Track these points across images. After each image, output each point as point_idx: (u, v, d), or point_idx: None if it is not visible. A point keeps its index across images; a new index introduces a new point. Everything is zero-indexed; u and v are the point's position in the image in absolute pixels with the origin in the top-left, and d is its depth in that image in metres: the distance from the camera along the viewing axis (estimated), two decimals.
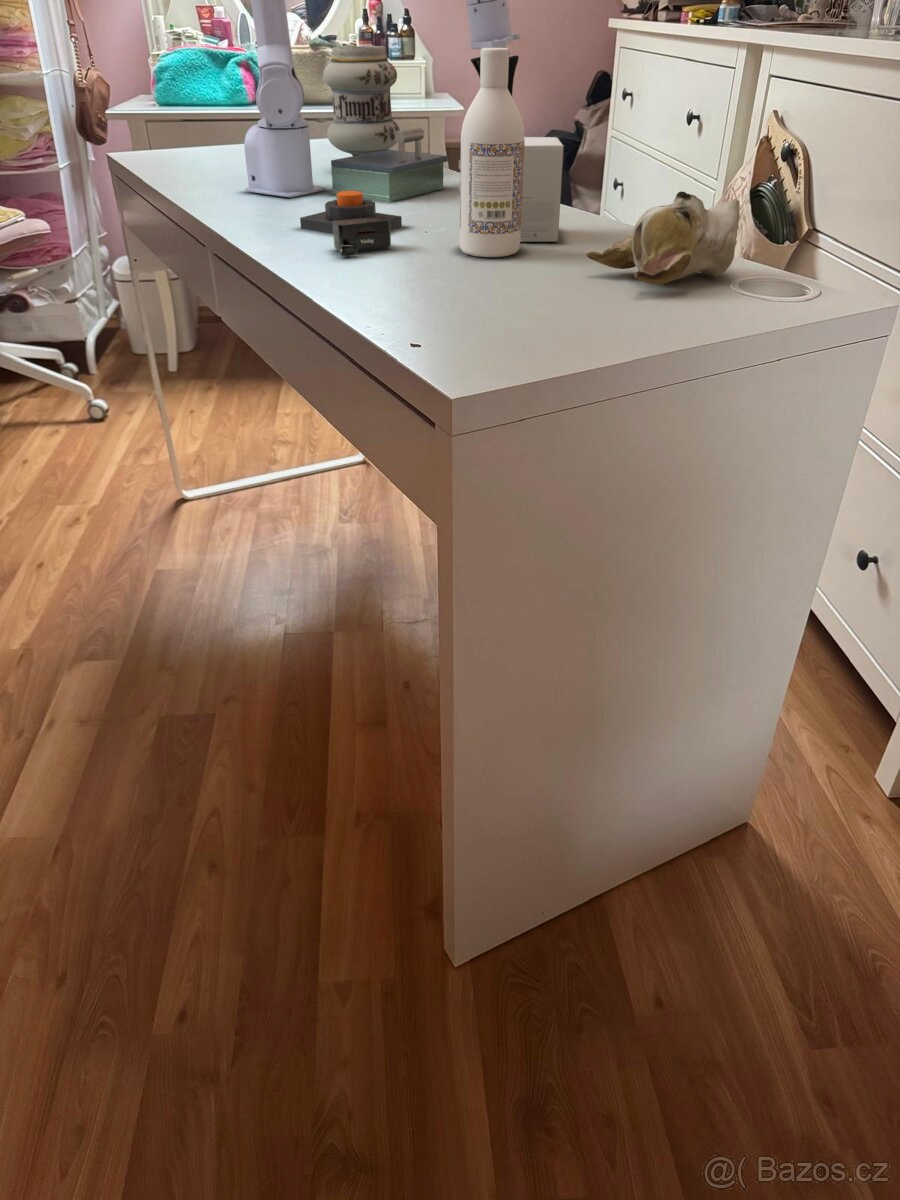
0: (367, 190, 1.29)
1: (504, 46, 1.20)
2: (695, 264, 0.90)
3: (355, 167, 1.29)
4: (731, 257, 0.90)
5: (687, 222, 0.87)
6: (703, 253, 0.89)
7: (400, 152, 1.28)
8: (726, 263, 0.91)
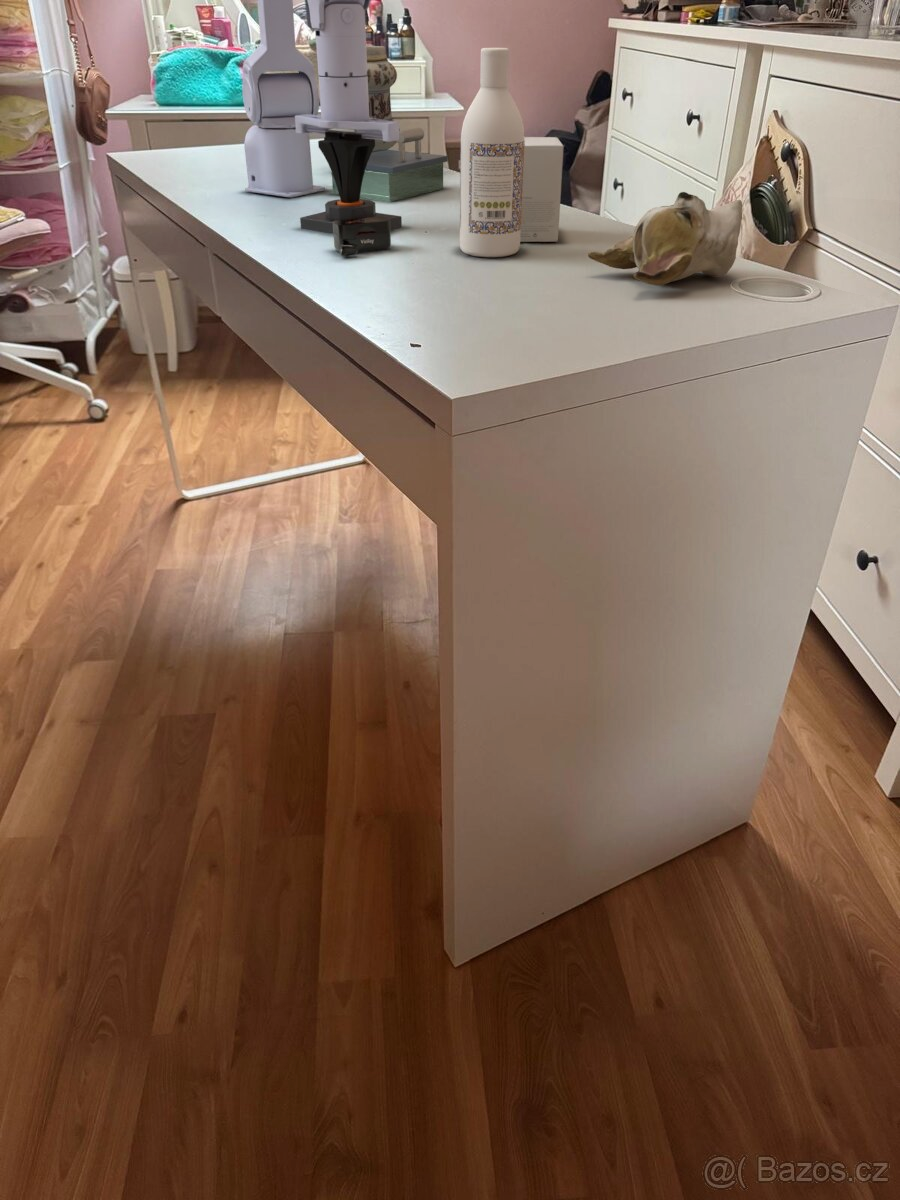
0: (367, 190, 1.29)
1: None
2: (696, 265, 0.90)
3: None
4: (733, 258, 0.90)
5: (688, 222, 0.87)
6: (704, 254, 0.89)
7: (400, 152, 1.28)
8: (728, 264, 0.91)
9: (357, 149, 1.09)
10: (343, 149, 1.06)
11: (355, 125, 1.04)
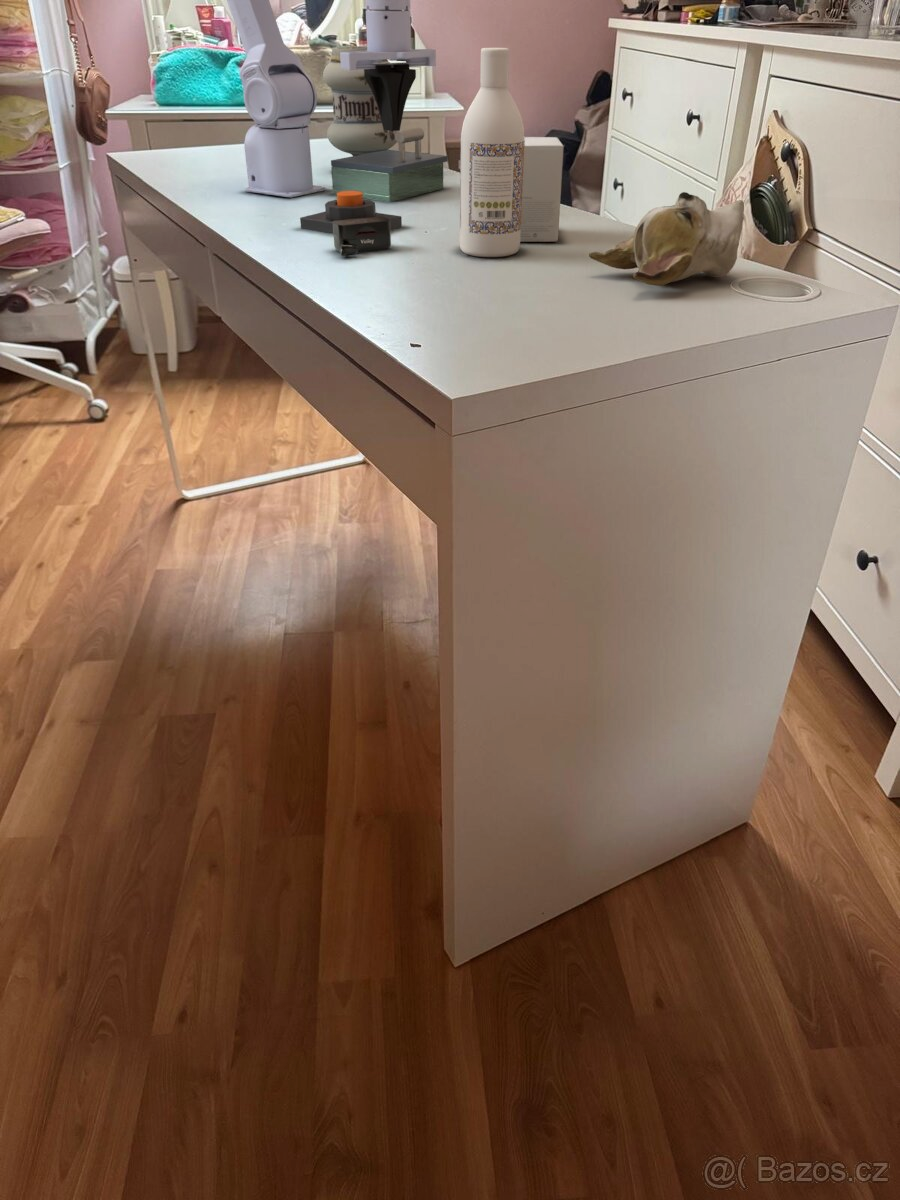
0: (367, 190, 1.29)
1: (348, 60, 1.13)
2: (697, 266, 0.89)
3: (355, 167, 1.29)
4: (734, 258, 0.90)
5: (688, 222, 0.87)
6: (705, 254, 0.89)
7: (400, 152, 1.28)
8: (729, 264, 0.90)
9: None
10: (411, 77, 1.18)
11: (418, 54, 1.17)
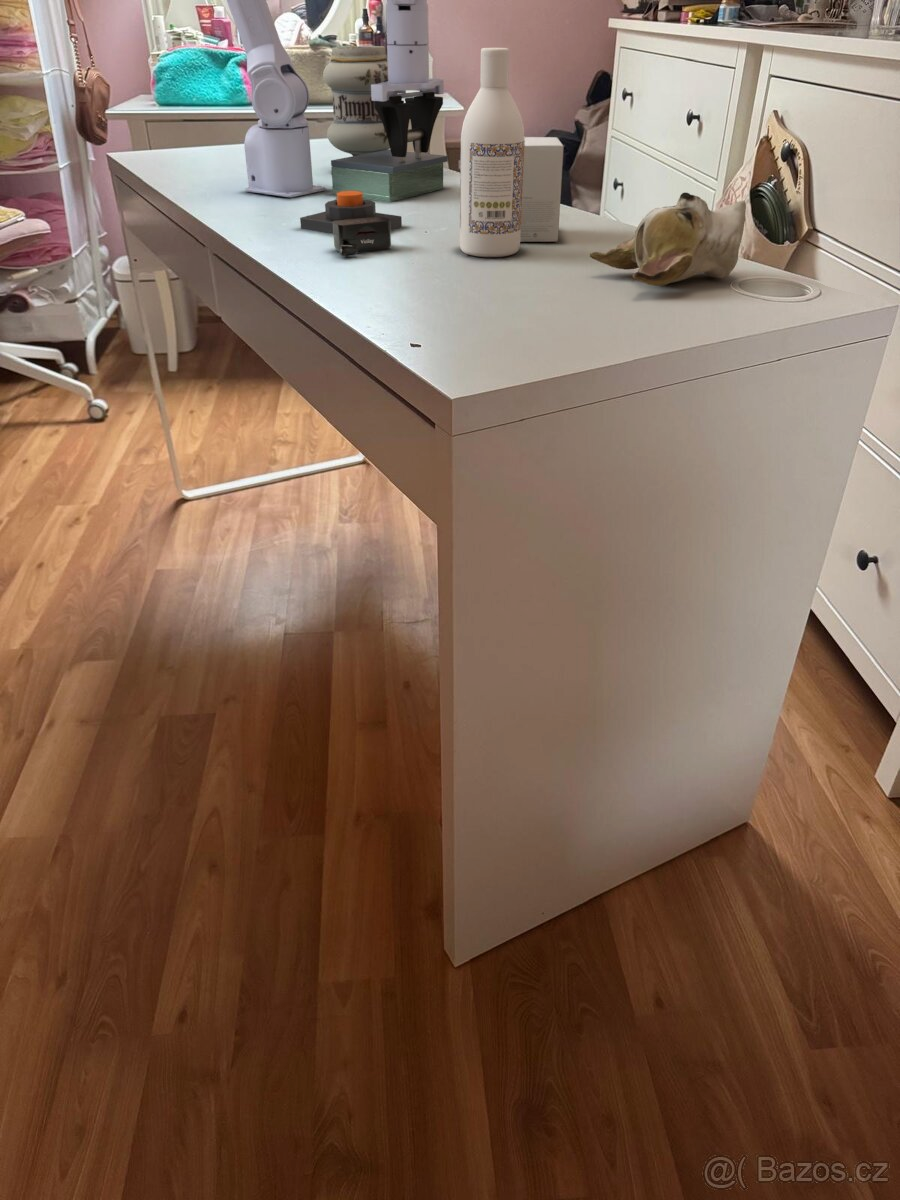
0: (367, 190, 1.29)
1: (381, 92, 1.20)
2: (697, 266, 0.89)
3: (355, 167, 1.29)
4: (735, 259, 0.90)
5: (689, 223, 0.87)
6: (706, 255, 0.89)
7: None
8: (730, 265, 0.90)
9: None
10: (439, 104, 1.28)
11: None
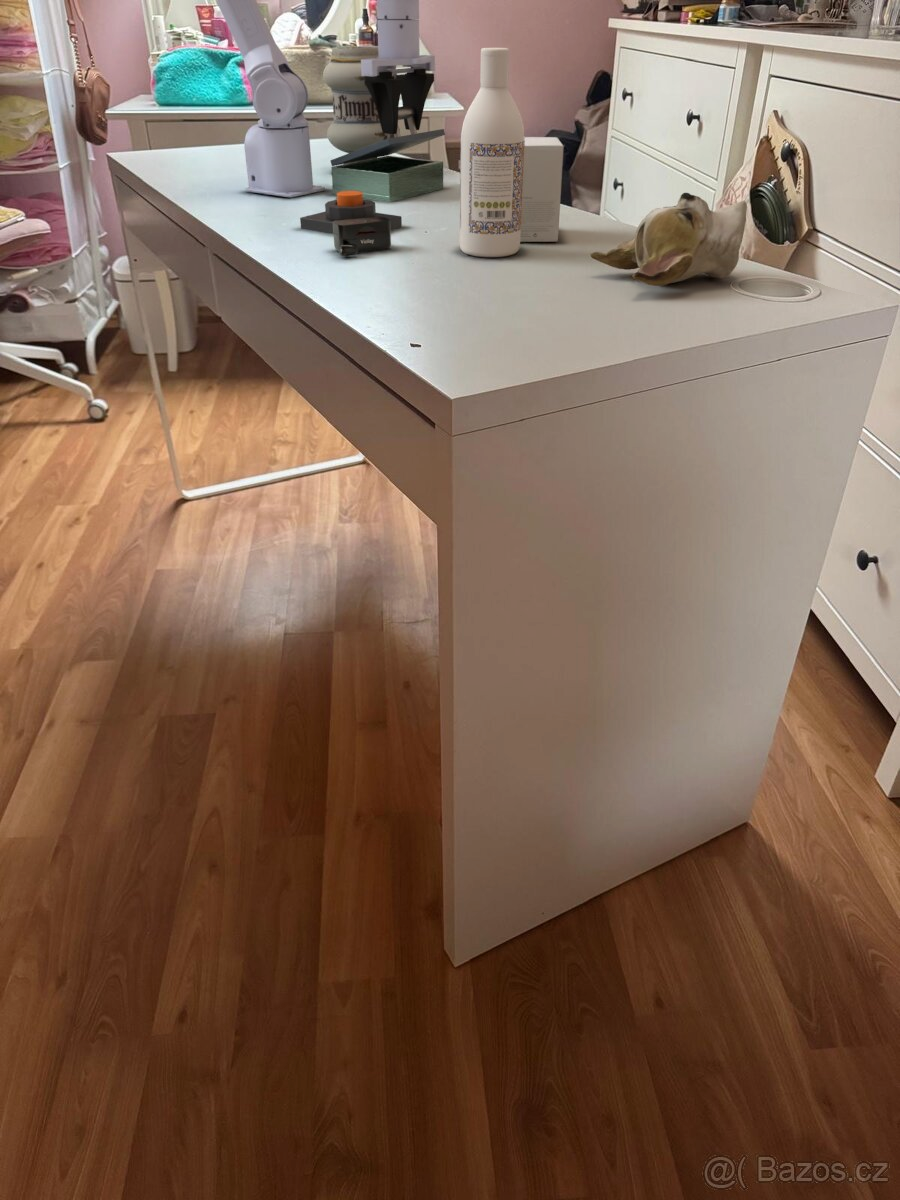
0: (367, 190, 1.29)
1: (371, 66, 1.19)
2: (698, 266, 0.89)
3: (353, 156, 1.28)
4: (735, 260, 0.90)
5: (689, 223, 0.87)
6: (706, 255, 0.88)
7: None
8: (730, 265, 0.90)
9: None
10: (430, 81, 1.27)
11: (424, 60, 1.26)
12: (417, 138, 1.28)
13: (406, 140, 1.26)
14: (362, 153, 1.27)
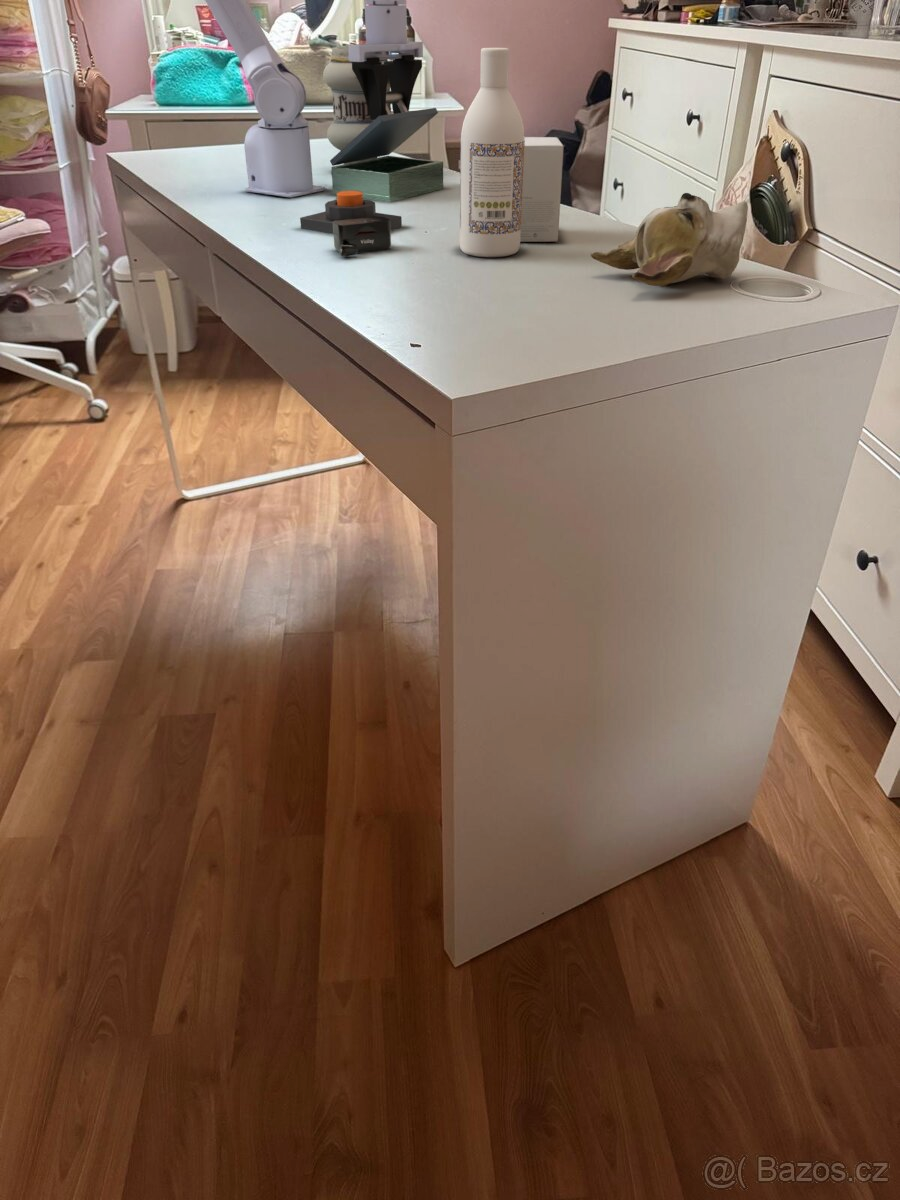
0: (367, 190, 1.29)
1: (358, 52, 1.19)
2: (698, 267, 0.89)
3: (350, 147, 1.27)
4: (736, 260, 0.90)
5: (689, 223, 0.87)
6: (706, 255, 0.88)
7: None
8: (731, 266, 0.90)
9: None
10: (418, 67, 1.27)
11: None
12: (409, 116, 1.27)
13: (398, 117, 1.25)
14: (358, 141, 1.26)
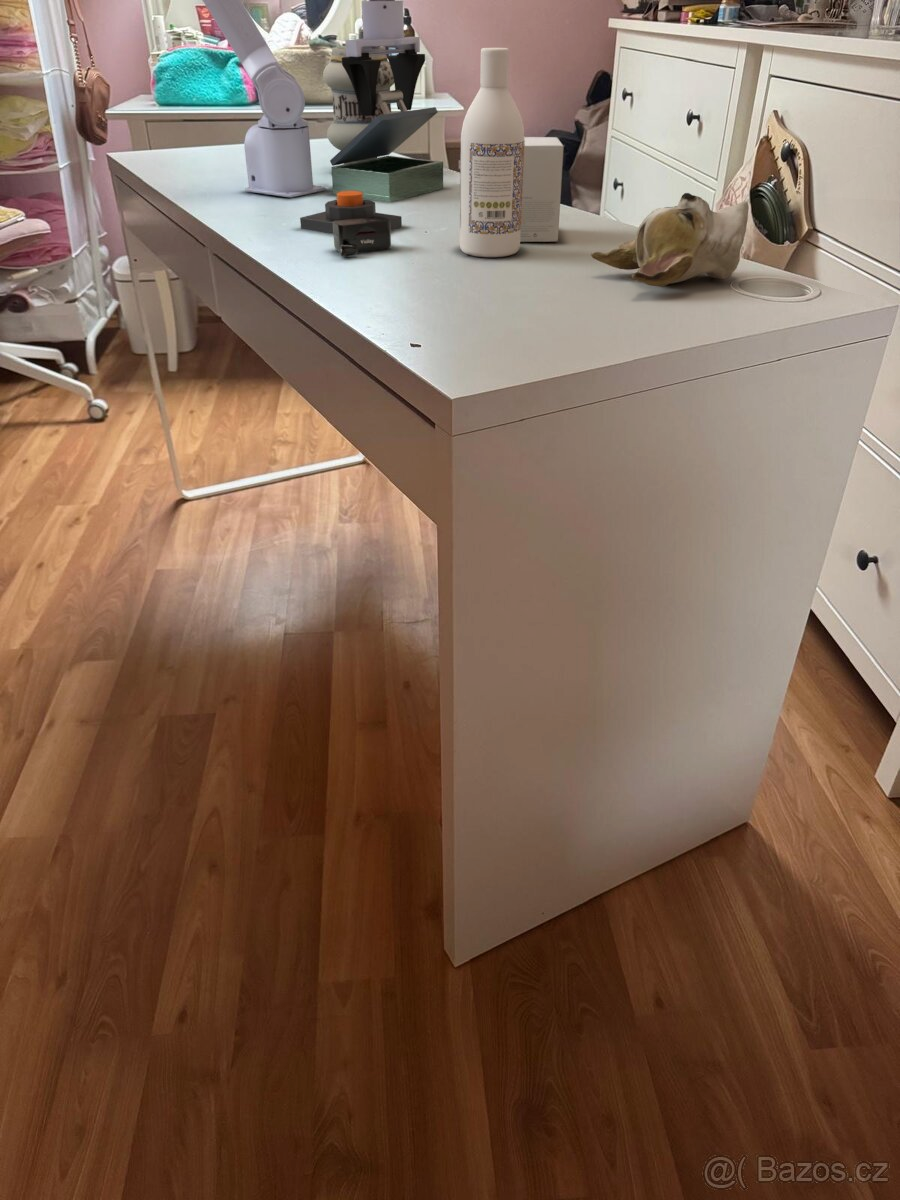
0: (367, 190, 1.29)
1: (355, 47, 1.21)
2: (698, 267, 0.89)
3: (350, 146, 1.27)
4: (736, 260, 0.89)
5: (689, 223, 0.87)
6: (707, 255, 0.88)
7: (385, 111, 1.27)
8: (731, 266, 0.90)
9: None
10: (421, 61, 1.30)
11: (409, 40, 1.27)
12: (409, 115, 1.27)
13: (398, 117, 1.25)
14: (357, 140, 1.26)
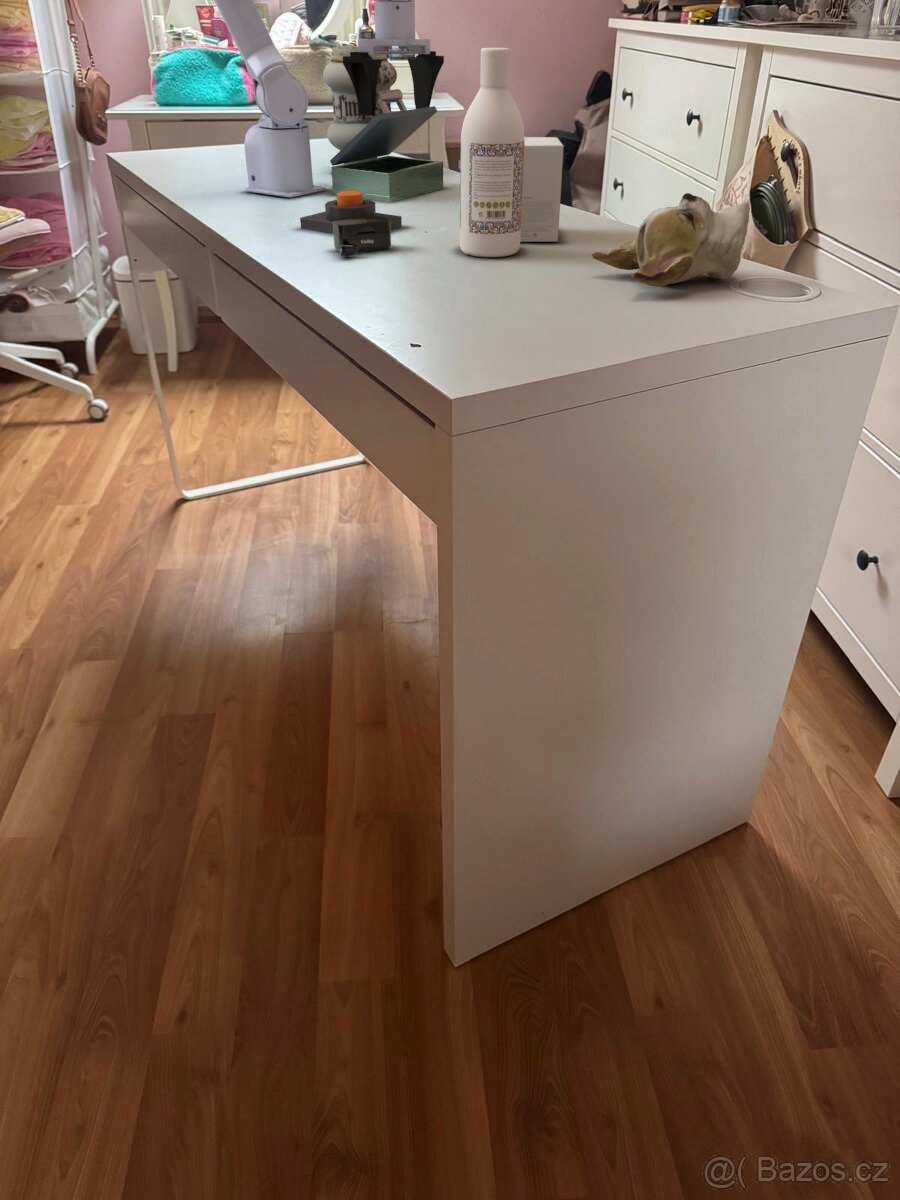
0: (367, 190, 1.29)
1: (367, 46, 1.23)
2: (699, 267, 0.89)
3: (350, 146, 1.27)
4: (737, 261, 0.89)
5: (690, 224, 0.87)
6: (707, 256, 0.88)
7: (384, 111, 1.27)
8: (732, 267, 0.90)
9: None
10: (440, 62, 1.34)
11: None
12: (409, 114, 1.27)
13: (397, 116, 1.25)
14: (357, 140, 1.26)
